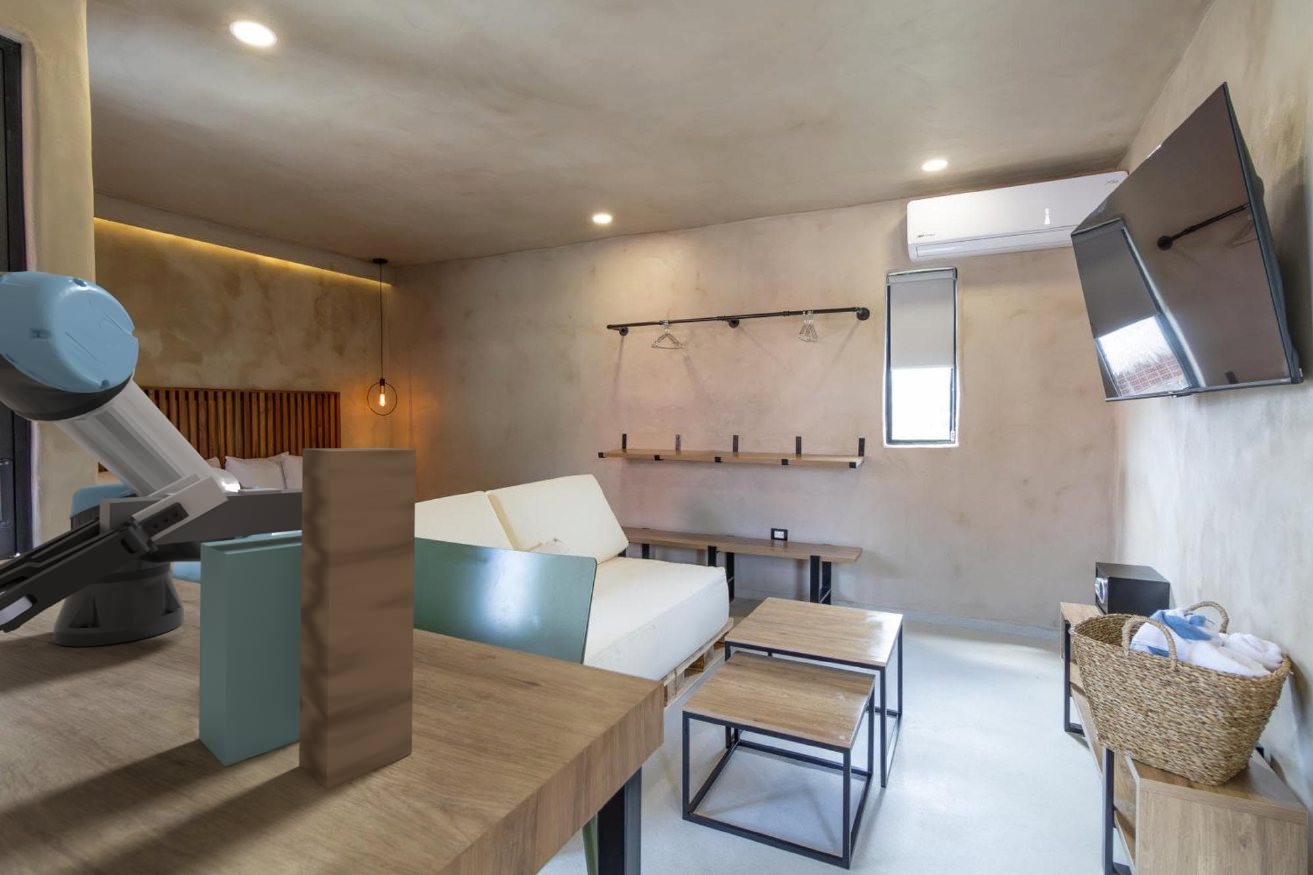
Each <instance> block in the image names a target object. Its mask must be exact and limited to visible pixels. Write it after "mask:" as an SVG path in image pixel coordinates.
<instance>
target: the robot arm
mask: <svg viewBox="0 0 1313 875" xmlns="http://www.w3.org/2000/svg"><path fill="white" fill-rule="evenodd" d="M134 330H135V326H134V324H133V321H132V318H131V317H130V315H129V314H128V312H127V311H126V309H125V308H124V307H123V305H122V303H120V302H119V301H118V300H117V299H116V298H115V297H114V296H113V295H112V294H111V293H109V292H108V291H107V290H106V289H104V288H103V287H101V286H99V285H98V284H95V283H93V282H92V281H89V280H86V279H82V278H79V277H74V276H69V275H59V274H55V273H54V274H53V273H51V272H50V273H49V272H45V271H37V270H27V271H26V270H25V271H16V272H15V271H0V401H1V402H2V404H4V405H5V406H6V407H8V409H11V410H12V411H13V412H14V413H15V414H16V415H18V416H20V417H22V418H24V419H26V420H27V421H31V422H36V423H44V424H45V423H46V424H47V423H50V424H52V423H53V424H54V425H55V426H56V427H58V428H59V429H60V430H61V431H62V432H63V433H65V434H66V435H67V436H68V437H69V438H70V439H72V440H73V441H74V442H75V443H76V444H77V445H79V446H80V448H82V449H83V450H84V451H85V452H87V454H89V455H90V456H91V457H92V458H93V459H95V460H96V461H97V462H98V463H99V464H100V465H101V466H103V468H105V469H106V470H107V471H109V472H110V474H112V475H113V476H114V477H115V478H116V479H118V481H120V482H116V483H115V482H114V483H105V484H96V485H89V486H83V487H81V488H79V489H77V490H76V491H75V492H74V493H73V494H72V498H71V499H72V501H71V508H70V514H69V516H68V517H69V520H70V530H68V531H66V532H64V533H62V534H60V535H58V536H56V537H53V538H52V539H50V540H48V541H45V542H44V543H42V544H39V545H37V546H36V547H33V548H32V549H29V550H28V551H26V552H23V553H21V554H19V555H18V556H15V557H13V558H12V559H9V560H7V561H5V562H3V563H1V564H0V631H3V633H4V634H8V633H10V632H14V631H17V630H18V629H19V628H21V627H22V626H23V625H25V624H26V623H27V622H29V621H30V620H31V619H33V618H35V617H36V616H38V615H39V614H41V613H42V612H44V611H46V610H47V609H49V608H51V607H53V606H54V605H57V604H58V603H60V602H62V601H63V600H64V601H63V604H62V606H61V608H60V611H59V613H58V616H57V618H56V619H55V623H54V624H53V625H54V626H53V642H54V644H57V645H60V646H67V647H92V646H93V647H95V646H104V645H105V646H106V645H114V644H121V643H127V642H132V641H137V640H142V639H146V638H151V637H154V636H157V635H160V634H161V635H162V634H164V633H166V632H170V631H173V630H174V629H176V628H178V627H179V626H182V624H183V623H184V622H185V607H184V605H183V602H182V600H181V598H180V595H179V593H178V591H177V588H176V585H175V583H174V580H173V578H172V575H171V574H172V573H171V563H201V543H209V542H218V541H227V540H236V539H245V538H254V537H264V536H273V535H272V534H273V533H268V534H258V535H248V536H239V537H229V538H219V539H209V540H199V541H189V542H179V543H169V544H159V545H155V544H154V542H153V541H155V540H157V539H158V538H160V537H162V536H164V535H166V534H167V533H169V532H171V531H173V530H175V529H176V528H178V527H180V526H182V525H184V524H185V523H187V522H189V521H191V520H193V519H194V518H196V517H198V516H200V515H202V514H203V513H205V512H207V511H209V510H211V509H213V508H214V507H216V506H218V505H220V504H222V503H223V502H225V501H227V500H228V499H227V497H226V496H225V495H224V493H225V492H238V490H241V489H261V488H262V487H260V486H257V485H255V486H253V487H249V486H244V485H243V484H241V482H240V481H239V480H238V479H237V478H236V477H235V475H234V474H232V472H229V471H228V470H225V469H222V468H219V467H213V466H210V465H209V463H207V461H206V460H205V459H204V458H203V457H202V456H201V455H200V454H199V452H198V451H197V450H196V449H195V448H194V447H193V445H191V443H190V442H189V441H188V440H187V439H186V437H184V436H183V435H182V433H181V432H180V431H179V430H178V429H177V428H176V427H175V425H174V424H173V423H172V422H171V421H170V420H169V419H168V417H167V416H166V415H165V414H164V413H163V412H162V411H161V410H160V409H159V408H158V407H157V405H156V404H155V403H154V402H153V401H152V400H151V399H150V398H149V396H148V395H147V394H146V393H145V392H144V391H143V389H142V388H141V387H140V386H139V385H138V384H137V383H136V382H135V381H134V376H135V373H136V372H135V371H136V366H137V363H138V360H139V359H138V357H139V341H138V340H139V339H138V337H135V335H134V336H133V331H134ZM164 493H174V494H172V495H170V496H168V497H166V498H164V499H163V500H161V501H159V502H157V503H155V504H153V505H151V506H149V507H147V508H145V509H143V510H141V511H139V512H137V513H135V514H134V515H132V517H133V518H134V519H132V520H127V521H125V522H124V523H123V524H121V525H119V526H117V527H115V528H113V529H111V530H109V531H107V532H104V533H102V534H100V535H99V528H100V499H110V498H129V497H149V496H164Z"/></svg>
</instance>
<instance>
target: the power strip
mask: <svg viewBox="0 0 1313 875" xmlns="http://www.w3.org/2000/svg"><path fill="white" fill-rule="evenodd" d="M260 488H261V489H241V490H238V492H225V493H224V495H225V496H226V497H227V499H228V500H227V501H225V502H223V503H222V504H220V505H218V506H216V507H214V508H213V509H211V510H209V511H207V512H205V513H203V514H202V515H200V516H198V517H196V518H194V519H193V520H191V521H189V522H187V523H185V524H184V525H182V526H180V527H178V528H176V529H175V530H173V531H171V532H169V533H167V534H166V535H164V536H162V537H160V538H158V539H157V540H155V541H153V542H154V544H155V545H159V544H169V543H179V542H189V541H199V540H209V539H219V538H229V537H239V536H248V535H258V534H268V533H272V534H276V533H278V534H279V533H285V532H297V531H302V488H289V489H288V488H284V489H281V488H275V487H260ZM172 494H174V493H164V496H149V497H129V498H110V499H100V528H99V535H100V534H102V533H104V532H107V531H109V530H111V529H113V528H115V527H117V526H119V525H121V524H123V523H124V522H125V521H127V520H132V519H134V518H133V517H132V515H134V514H135V513H137V512H139V511H141V510H143V509H145V508H147V507H149V506H151V505H153V504H155V503H157V502H159V501H161V500H163V499H164V498H166V497H168V496H170V495H172Z"/></svg>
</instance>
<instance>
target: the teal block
mask: <svg viewBox="0 0 1313 875" xmlns="http://www.w3.org/2000/svg"><path fill="white" fill-rule="evenodd" d="M301 546H302V531H300V532H294V533H293V532H292V533H285V534H284V533H281V534H275V535H271V536H264V537H254V538H245V539H236V540H227V541H218V542H209V543H201V562H200V581H199V582H200V590H199V591H200V595H199V598H200V599H199V600H200V603H199V607H200V609H199V610H200V611H199V683H198V684H199V689H198V690H199V692H198V696H199V697H198V698H199V700H198V706H199V708H198V739H199V740H200V741H201V742H202V743H203V744H204V746H205V747H206V748H207V749H208V750H209V751H210V752H211V753H212V754H213V756H215V757H216V758H217V759H218V760H219V761H220V763H222V764H223V765H224V766H225V767H227V766H230V765H233V764H236V763H238V762H242V761H244V760H246V759H247V760H248V759H250V758H253V757H255V756H258V755H261V754H265V753H267V752H269V751H273V750H276V749H279V748H281V747H284V746H287V745H290V744H293V743H296V742H298V741H299V721H300V634H301Z"/></svg>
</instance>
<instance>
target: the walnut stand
mask: <svg viewBox="0 0 1313 875" xmlns="http://www.w3.org/2000/svg"><path fill="white" fill-rule="evenodd" d="M416 454H417V452H416V449H408V448H394V447H393V448H391V447H363V448H362V447H361V448H360V447H359V448H358V447H356V448H354V447H352V448H349V447H348V448H346V447H345V448H343V447H342V448H340V447H339V448H336V447H335V448H302V463H301V464H302V465H301V466H302V468H301V469H302V470H301V472H302V473H301V474H302V476H301V478H302V480H301V484H302V486H301V487H302V488H301V489H302V530H301V532H302V546H301V634H300V721H299V740H298V741H299V742H298V766H299V767H300V768H301V769H303V771H305V772H306V773H307V774H308V775H309V776H310V777H311V778H313V779H314V780H315V781H317V783H319V784H320V785H321V786H322V787H323V788H325V790H329V789H332V788H334V787H336V786H338V785H341V784H343V783H345V782H348V781H350V780H352V779H355V778H357V777H360V776H363V775H364V774H367V773H369V772H372V771H374V770H377V769H378V768H381V767H383V766H386V765H388V764H391V763H393V762H395V761H398V760H400V759H402V758H404V757H407V756H409V755H411V754H412V752H413V751H412V748H413V747H412V746H413V741H412V740H413V694H414V693H413V690H414V689H413V687H414V685H413V682H414V681H413V679H414V677H413V676H414V674H413V672H414V616H415V615H414V614H415V613H414V611H415V610H414V606H415V604H414V602H415V599H414V598H415V535H416V534H415V531H416V528H415V527H416V526H415V525H416V470H417V469H416V464H417V463H416V460H417V459H416V457H417V455H416Z"/></svg>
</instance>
